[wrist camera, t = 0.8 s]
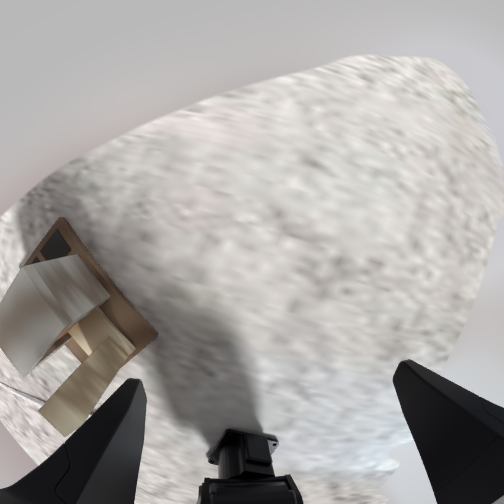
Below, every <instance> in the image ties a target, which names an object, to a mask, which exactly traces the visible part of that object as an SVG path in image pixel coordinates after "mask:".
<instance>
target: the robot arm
mask: <svg viewBox="0 0 504 504" xmlns="http://www.w3.org/2000/svg"><path fill="white" fill-rule="evenodd" d="M393 384H394V387H395V390H396V393H397V396H398V399H399V402H400V405H401V409H402V412H403V414H404V417H405V419H406V422H407V424H408V426H409V429H410V431H411V434H412V436H413V439H414V441H415V443H416V446H417V449H418V451H419V453H420V456H421V459H422V461H423V464H424V466H425V469H426V472H427V475H428V478H429V480H430V483H431V486H432V489H433V492H434V495H435V498H436V501H437V504H504V408H503V407H500V406H498V405H496V404H493V403H491V402H489V401H487V400H485V399H484V398H481V397H479V396H478V395H476V394H474V393H472V392H470V391H468V390H466V389H464V388H463V387H461V386H459V385H457V384H455V383H453V382H451V381H449V380H448V379H446V378H444V377H442V376H440V375H438V374H436V373H435V372H433V371H431V370H429V369H427V368H425V367H423V366H422V365H420V364H418V363H416V362H414V361H412V360H410V359H408V360H404V361H401V362H400V363H399V365H398V367H397V369H396V371H395V374H394V376H393ZM146 404H147V397H146V393H145V390H144V387H143V384H142V381H141V380H140V379H133V378H129V379H127V380H126V381H125V382H124V383H123V384H122V385H121V386H120V387H119V388H118V389H117V390H116V391H115V392H114V393H113V394H112V395H111V396H110V397H109V398H108V399H107V400H106V401H105V402H104V403H103V404H102V405H101V406H100V407H99V408H98V409H97V410H96V411H95V412H94V413H93V414H92V415H91V416H90V417H89V418H88V419H87V420H86V421H85V422H84V423H83V424H82V425H81V426H80V427H79V428H78V429H77V430H76V431H75V432H74V433H73V434H72V435H71V436H70V437H69V438H68V439H67V440H66V441H65V443H63V444H62V445H61V446H60V447H59V448H58V449H57V450H56V451H55V452H54V453H53V454H52V455H51V456H50V457H49V458H48V459H46V460H45V461H44V462H43V463H41V464H40V465H39V466H38V467H36V468H35V469H34V470H32V471H31V472H30V473H28V474H27V475H26V476H24V477H23V478H22V479H20V480H19V481H18V482H16V483H15V484H13V485H11V486H9V487H6V488H3V489H0V504H134V500H135V493H136V486H137V479H138V473H139V466H140V460H141V455H142V449H143V443H144V432H145V417H146ZM229 433H231V434H229ZM274 443H275V444H274ZM278 445H279V442H278V440H275V439H270V438H265V437H260V436H256V435H252V434H248V433H244V432H240V431H236V430H232V429H227V430H226V431H225V432H224V434H223V436H222V437H221V439H220V441H219V442H218V444H217V446H216V447H215V449H214V450H213V452H212V454H211V455H210V457H209V458H208V462H209V463H211V464H214V465H218V471H219V479H210V478H205V479H204V483H202V485H201V486H199V497H198V501H197V504H303V500H302V496H301V494H300V492H299V490H298V488H297V486H296V484H295V483H294V481H293V479H292V477H291V475H290V474H289V475H285V476H277V477H275V474H274V470H273V466H272V457H271V455H272V453H273V452H274V451H275V449H276V448H277V447H278ZM212 460H213V461H212Z"/></svg>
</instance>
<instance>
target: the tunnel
mask: <svg viewBox="0 0 504 504" xmlns="http://www.w3.org/2000/svg"><path fill="white" fill-rule="evenodd" d="M98 307H99V308H100V309H101V310H102V311H103V313H104V314H105V315H106V316H107V317H108V318H109V320H110V321H111V322H112V323H113V324H114V325H115V326H116V327H117V329H118V330H119V331H120V332H121V333H122V334H123V335H124V336H125V337H126V338H127V339H128V340H129V341H130V343H131V344H132V345H133V346H134V347H135V348H136V349H135V350H134V351H133V352H132V353H131V354H130V355H129V356H128V358H127V359H126V360H125V362H124V363H123V365H125V364H126V363H127V362H128V361H129V360H130V359H132V358H133V357H134V356H135V355H136V354H137V353H139V352H140V351H141V350H142V349H143V348H144V347H146V346H147V345H148V344H149V343H150V342H151V341H153V340H154V339H155V338H156V337H157V335H158V333H157V332H156V331H155V330H154V329H153V328H152V326H151V325H150V324H149V323H148V322H147V321H146V320H145V319H144V318H143V317H142V316H141V315H140V313H139V312H138V311H137V310H136V309H135V308H134V307H133V306H132V305H131V303H130V302H129V301H128V300H127V299H126V298H125V296H124V295H123V294H122V293H121V292H120V291H119V289H118V288H117V287H116V286H115V285H114V283H113V282H112V281H111V280H110V278H109V277H108V276H107V275H106V274H105V272H104V271H103V270H102V268H101V267H100V266H99V265H98V263H97V262H96V261H95V259H94V258H93V257H92V256H91V254H90V253H89V252H88V250H87V249H86V247H85V246H84V245H83V243H82V242H81V241H80V239H79V238H78V236H77V235H76V234H75V232H74V231H73V229H72V228H71V226H70V225H69V223H68V222H67V220H66V219H65V218H59V219H58V220H57V221H56V222H55V224H54V225H53V226H52V228H51V229H50V230H49V231H48V233H47V234H46V235H45V237H44V238H43V239H42V241H41V242H40V244H39V245H38V246H37V248H36V249H35V251H34V252H33V253H32V255H31V256H30V258H29V259H28V261H27V262H26V264H25V265H24V266H22V268H21V269H20V271H19V273H18V274H17V276H16V277H15V279H14V281H13V282H12V284H11V286H10V287H9V289H8V291H7V293H6V294H5V296H4V298H3V300H2V301H1V303H0V348H1V349H2V351H3V352H4V353H5V355H6V356H7V358H8V359H9V360H10V362H11V363H12V364H13V366H14V367H15V368H16V370H17V371H18V372H19V373H20V375H21V376H22V377H23V378H25V377H26V376H27V375H28V374H30V373H31V372H32V371H33V370H34V369H35V368H37V367H38V366H39V365H40V364H41V363H43V362H44V361H45V360H46V359H47V358H49V357H50V356H51V355H52V354H54V353H55V352H56V351H57V350H58V349H60V348H61V347H62V346H63V345H66V346H67V347H68V348H69V350H70V351H71V352H72V353H73V354H74V355H75V357H76V358H77V359H78V360H79V361H80V362H81V363H83V362H84V361H85V360H86V358H87V357H88V355H87V353H86V352H85V351H84V350H83V349H82V348H81V347H80V346H79V344H78V343H77V342H76V341H75V340H74V339H73V337H72V336H71V335H70V334H69V333H68V332H67V333H66V334H65V335H63V336H62V337H61V338H59V337H60V335H61V334H62V333H63V332H64V331H65V330H66V329H68V328H69V327H70V326H72V325H73V324H75V323H76V322H78V321H79V320H80V319H82V318H83V317H85V316H86V315H88V314H89V313H90V312H92V311H93V310H95V309H96V308H98ZM58 338H59V339H58ZM57 339H58V340H57ZM56 340H57V341H56ZM123 365H122V366H123ZM122 366H121V367H122Z"/></svg>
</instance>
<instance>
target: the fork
mask: <svg viewBox="0 0 504 504" xmlns="http://www.w3.org/2000/svg"><path fill="white" fill-rule="evenodd" d="M0 386H1V387H3V388H5V389H6V390H8V391H10V392H12V393H13V394H15V395H17V396H19V397H21V398H23V399H24V400H26V401H28V402H30V403H32V404H34V405H36V406H38V407H40V408H41V407H42V406H43V405H44V404H45V402H43V401H41V400H38V399H36V398H33V397H31V396H29V395H26V394H24V393H22V392H19V391H17V390H15V389H13V388H11V387H9V386H7V385H5V384H3V383H1V382H0ZM91 415H92V414H91V413H90V415H89V416H88V418H89V417H90V416H91ZM88 418H87V419H88ZM87 419H86V420H87Z"/></svg>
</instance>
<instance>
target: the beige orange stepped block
mask: <svg viewBox="0 0 504 504" xmlns="http://www.w3.org/2000/svg"><path fill="white" fill-rule="evenodd" d="M67 332H68V333H69V334H70V335H71V336H72V337H73V339H74V340H75V341H76V342H77V343H78V344H79V346H80V347H81V348H82V349H83V350H84V351H85V352H86V353H87V355H88V357H87V358H86V360H85V361H84V362H83V363H82V364H81V365H80V366H79V367H78V368H77V369H76V370H75V371H74V372H73V373H72V374H71V375H70V376H69V377H68V379H67V380H66V381H65V382H64V383H63V384H62V385H61V386H60V387H59V388H58V389H57V390H56V391H55V393H54V394H53V395H52V396H51V397H50V398H49V399H48V400H47V401H46V402H45V404H44V405H43V406H42V407H41V408H40V409H39V410H38V412H39V413H40V414H41V415H42V416H43V417H44V418H45V419H46V420H47V421H48V422H49V423H50V424H51V425H52V426H53V427H54V428H55V429H56V430H58V431H59V432H60V433H61V434H62V435H63V436H64V437H66V436H68V435H69V434H70V433H72V432H73V431H74V430H76V429H77V428H79V427H80V426H81V425H82V424H83V423H84V422H85V421H86V419H87V418H88V416H89V415H90V413H91V412H92V410H93V408H94V407H95V405H96V404H97V402H98V401H99V399H100V398H101V396H102V395H103V393H104V392H105V390H106V389H107V387H108V386H109V384H110V383H111V381H112V380H113V378H114V377H115V375H116V374H117V372H118V371H119V369H120V368H121V366H122V365H123V363H124V362H125V360H126V359H127V358H128V356H129V355H130V354H131V353H132V352H133V351H134V350H135V349H136V348H135V347H134V346H133V345H132V344H131V343H130V341H129V340H128V339H127V338H126V337H125V336H124V335H123V334H122V333H121V332H120V331H119V330H118V329H117V327H116V326H115V325H114V324H113V323H112V322H111V321H110V320H109V318H108V317H107V316H106V315H105V314H104V313H103V311H102V310H101V309H100V308H99V307H98V308H96V309H95V310H93V311H92V312H90V313H89V314H88V315H86V316H85V317H83V318H82V319H80V320H79V321H78V322H76V323H75V324H73V325H72V326H70V327H69V328H68V329H66V330H65V331H64V332H63V333H62V334H61V335H60V337H59V338H61V337H62V336H63V335H65V334H66V333H67ZM59 338H58V339H59ZM58 339H57V340H58ZM57 340H56V341H57Z"/></svg>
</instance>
